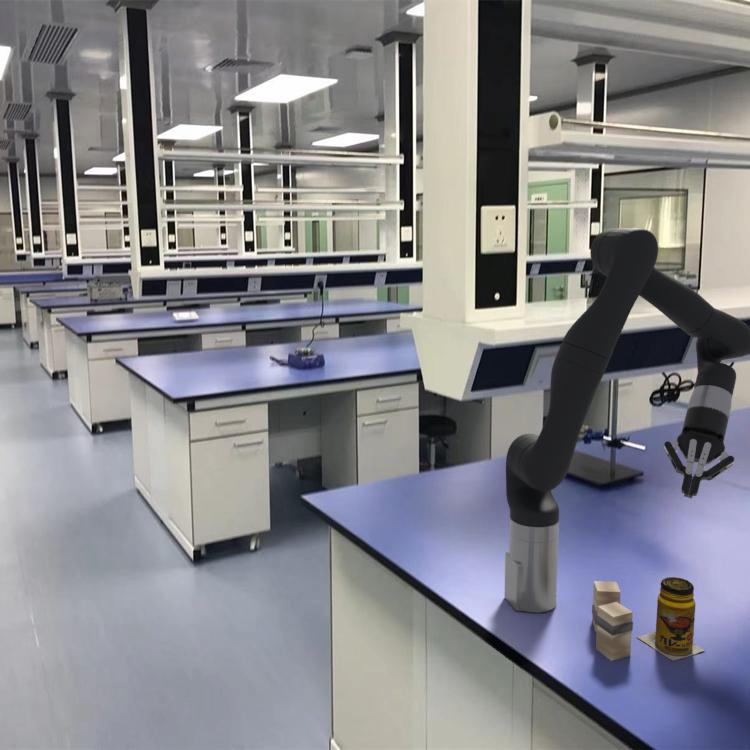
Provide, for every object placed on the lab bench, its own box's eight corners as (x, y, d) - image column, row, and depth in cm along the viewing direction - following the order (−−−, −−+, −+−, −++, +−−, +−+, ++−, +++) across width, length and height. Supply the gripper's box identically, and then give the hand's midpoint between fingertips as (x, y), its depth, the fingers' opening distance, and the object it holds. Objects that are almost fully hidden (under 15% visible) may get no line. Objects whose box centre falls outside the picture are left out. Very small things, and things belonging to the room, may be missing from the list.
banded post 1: (595, 632, 134) (596, 591, 132) (591, 620, 138) (593, 580, 136) (619, 633, 133) (621, 592, 132) (614, 622, 137) (616, 581, 136)
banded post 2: (611, 661, 124) (613, 617, 123) (595, 649, 128) (596, 606, 127) (631, 656, 126) (633, 612, 125) (614, 643, 130) (616, 601, 128)
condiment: (673, 661, 124) (677, 595, 122) (636, 637, 132) (640, 574, 130) (705, 651, 127) (709, 586, 125) (667, 628, 135) (671, 567, 132)
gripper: (672, 398, 143) (651, 480, 137) (747, 413, 137) (728, 499, 131) (671, 414, 149) (650, 493, 143) (742, 429, 144) (724, 512, 138)
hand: (688, 496), depth 137 cm, fingers closed
